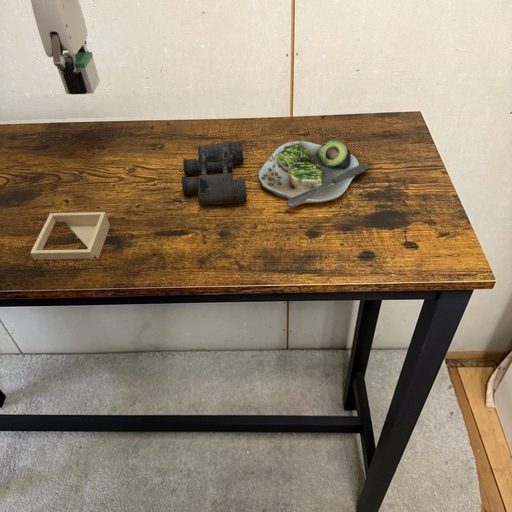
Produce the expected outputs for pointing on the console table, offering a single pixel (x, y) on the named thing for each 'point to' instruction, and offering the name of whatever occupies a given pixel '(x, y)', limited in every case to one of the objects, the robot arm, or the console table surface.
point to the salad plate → (310, 171)
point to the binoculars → (218, 185)
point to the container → (84, 71)
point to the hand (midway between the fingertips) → (82, 85)
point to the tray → (84, 226)
